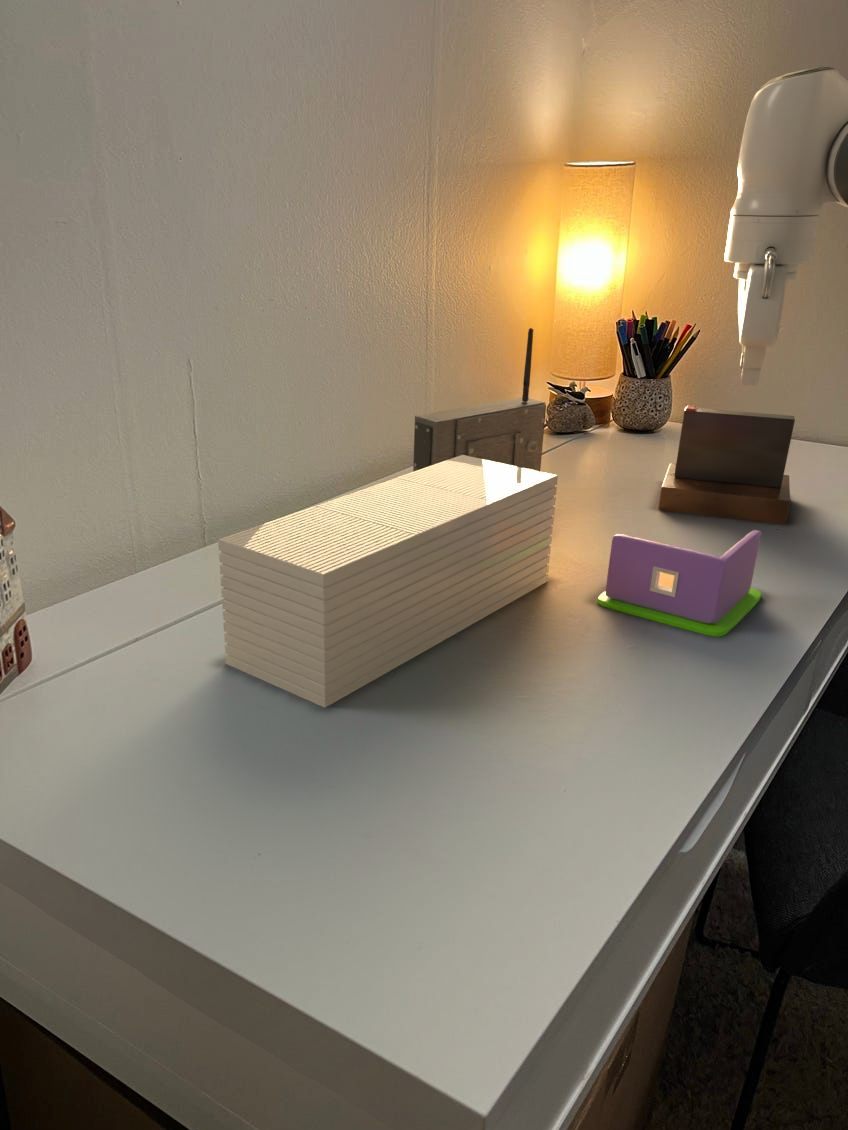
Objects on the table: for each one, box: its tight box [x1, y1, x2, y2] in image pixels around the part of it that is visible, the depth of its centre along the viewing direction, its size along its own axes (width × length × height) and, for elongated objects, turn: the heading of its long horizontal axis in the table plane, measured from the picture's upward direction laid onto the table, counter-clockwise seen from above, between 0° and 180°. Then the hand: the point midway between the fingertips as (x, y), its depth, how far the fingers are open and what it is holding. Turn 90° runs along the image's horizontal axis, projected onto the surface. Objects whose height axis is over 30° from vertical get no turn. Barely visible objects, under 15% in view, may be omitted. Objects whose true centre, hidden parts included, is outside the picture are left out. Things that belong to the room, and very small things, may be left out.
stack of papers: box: [217, 455, 559, 708], centre depth 82 cm, size 32×11×11 cm, turn 140°
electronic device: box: [412, 327, 547, 472], centre depth 109 cm, size 17×7×20 cm, turn 128°
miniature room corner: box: [596, 529, 762, 637], centre depth 87 cm, size 12×12×7 cm
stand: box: [657, 462, 791, 525], centre depth 115 cm, size 14×11×3 cm
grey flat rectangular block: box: [674, 405, 796, 488], centre depth 112 cm, size 12×2×8 cm, turn 70°
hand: (748, 376), depth 108 cm, fingers open, 8 cm apart
